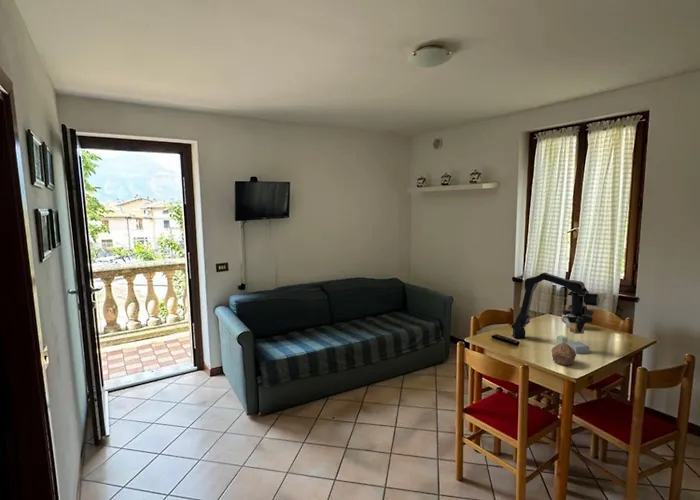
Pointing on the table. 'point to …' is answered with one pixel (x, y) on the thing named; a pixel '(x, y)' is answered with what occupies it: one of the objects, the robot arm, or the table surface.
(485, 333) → the table surface
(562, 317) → the coffee mug
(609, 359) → the table surface
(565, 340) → the sage block
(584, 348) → the base block
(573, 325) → the walnut cube
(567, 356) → the decorative rock
